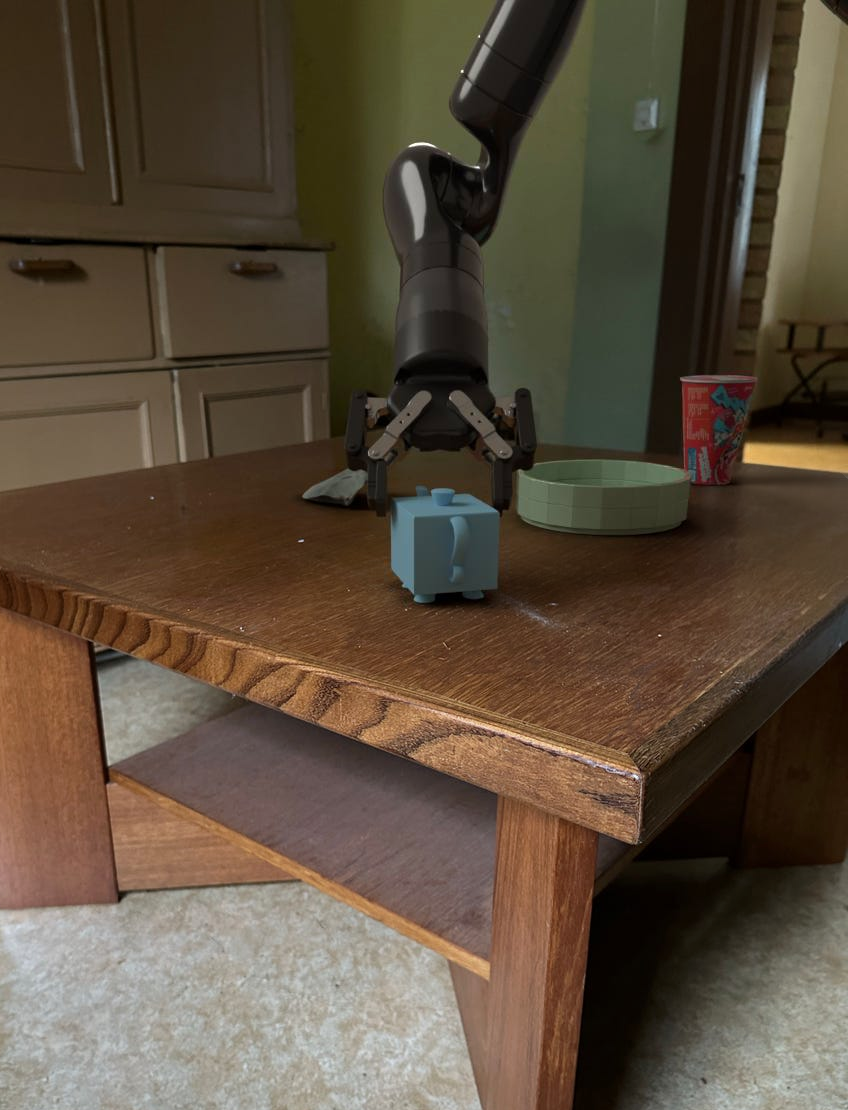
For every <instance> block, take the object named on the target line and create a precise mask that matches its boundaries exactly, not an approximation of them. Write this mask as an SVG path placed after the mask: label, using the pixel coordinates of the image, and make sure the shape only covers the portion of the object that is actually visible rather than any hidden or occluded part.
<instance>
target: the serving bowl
mask: <svg viewBox="0 0 848 1110" xmlns="http://www.w3.org/2000/svg"><path fill="white" fill-rule="evenodd" d="M691 479H692V474H691V473H689V472H688V471H686V470H684V468H680V467H676V466H674V465H673V466H672V465H668V464H662V463H654V462H648V461H647V462H646V461H635V460H625V459H624V460H621V459H620V460H619V459H566V460H552V461H545V462H544V461H543V462H537V463H534V466H533V468H532V469H531V470H529V471H523V470H521V469H519V470H516V495H515V510H516V512H517V514H518V516H520V519H521V520H522V521H524V522H525V523H527V524H528V525H532V526H534V527H538V528H541V529H546V530H550V531H555V532H560V533H562V532H563V533H569V534H578V535H592V536H636V535H637V536H638V535H646V534H655V533H662V532H666V531H670V530H672V529H675V528H677V527H679V526H680V525H682V523H683V521H685V520H687V518H688V515H689V506H690V498H691V488H692V483H691Z"/></svg>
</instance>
